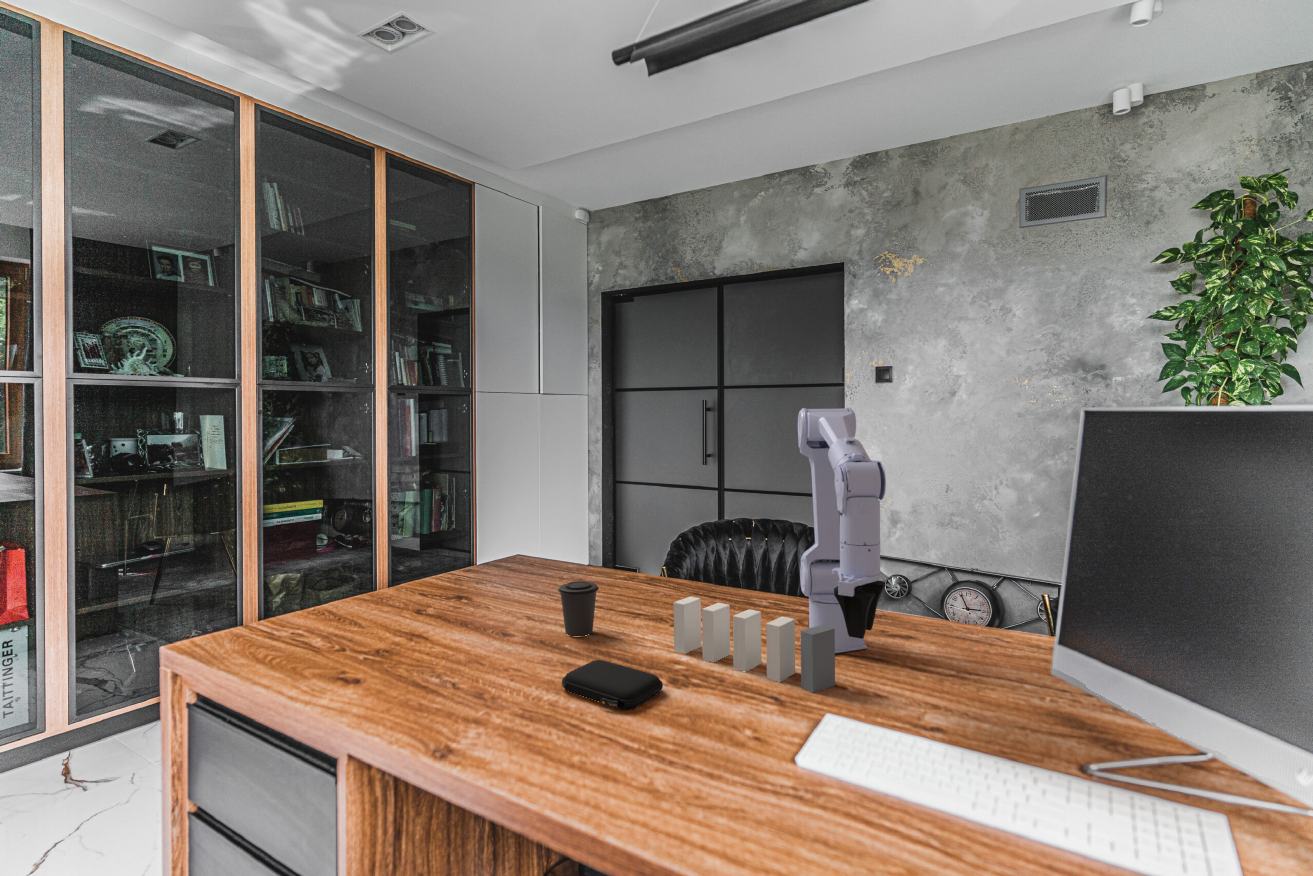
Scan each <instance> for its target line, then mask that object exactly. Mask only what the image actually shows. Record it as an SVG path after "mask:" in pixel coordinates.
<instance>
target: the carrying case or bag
mask: <svg viewBox="0 0 1313 876" xmlns="http://www.w3.org/2000/svg"><path fill="white" fill-rule="evenodd" d="M561 685H562V687H563V689H565V691H566V692H568V691H569V692H568V693H570V692H572V693H571V694H573V693H575V694H574V695H576V694H578V695H577V696H579V695H581V696H580V697H582V696H584V697H583V698H585V697H587V698H586V699H588V698H590V699H589V700H591V699H593V700H592V701H594V700H596V701H595V702H597V701H599V702H598V703H599V704H600V705H601V706H604V707H613V706H614V707H613V708H616V707H617V709H619V708H620V709H619V710H623V709H624V711H631V710H630V709H632V710H634V708H635V709H636V708H638V707H639V706H641V705H642V703H643V704H644V703H646V702H647V700H648V701H649V700H651V699H652V698H654V697H655V695H656V694H657V695H658V694H659V693H660V692H661V691H662V690H663V687H664V684H663V680H661V679H660V677H658V676H657V675H656V674H653V673H650V672H647V671H644V670H639V669H637V668H633V667H629V666H626V665H622V664H618V663H613V662H610V661H608V660H607V661H606V660H603V659H595V660H592V661H590V662H588V663H586V664H583V665H581V666H579V667H577V668H575V669H573V670H571V671H569V672H568V673H566V674H565V676H564V677H563V678H562V679H561ZM657 695H656V696H657ZM653 696H654V697H653ZM650 698H651V699H650ZM645 701H646V702H645ZM637 706H638V707H637Z"/></svg>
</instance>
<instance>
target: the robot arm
mask: <svg viewBox="0 0 1313 876" xmlns="http://www.w3.org/2000/svg"><path fill="white" fill-rule="evenodd" d="M856 416H857V415H856V413H855V411H854V410H853V409H852V408H851V407H846V408H806V407H805V408H804V407H802V408H801V410H799V412H798V415H797V442H798V448H799V453H800V454H802V455H803V456H804V457H807V458H808V461H809V465H810V470H811V482H812V483H811V488H812V489H811V490H812V508H813V523H814V524H813V530H814V544H813V545H812V546H810V547H809V548H808V549H807V550H806V551H804V552H803V553H802V555H801V557H800V571H799V577H800V578H799V579H800V580H799V581H800V588H801V592H802V594H803V595H804V596H805V597H808V611H809V612H808V617H809V618H808V623H809V627H808V629H809V628H813V627H816V626H820V625H825V626H828V627H831V628H834V629H835V654H840V653H846V652H852V651H853V652H854V651H857V650H858V651H859V650H865V649H867V648H868V646H867V644H865V635H866V631H872V629H873V626H874V622H875V617H876V613H877V608H878V604H879V601H880V598H881V595H882V593H883V592H884V590H885V589H886V582H885V581H884V580H882V576H883V573H882V570H881V501H882V500H883V499H884V497H885V495H886V488H887V479H886V472H885V471H886V470H885V468H884V465H883V462H882V461H881V460H873V459H872V460H871V458H870V456H869V455H868V453H867V451H866V449H865V447H864V445H863V444H862V443H861V441H859V440H858V439H856V438H855V437H856V433H857V432H856V431H857V418H856ZM815 560H816V561H815ZM821 560H823V561H824V560H825V562H820V561H821ZM826 560H827V561H829V560H830V562H826ZM817 561H818V562H817ZM831 561H832V562H831ZM834 561H837V562H834ZM838 561H839V562H838ZM799 642H801V638H799Z"/></svg>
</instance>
